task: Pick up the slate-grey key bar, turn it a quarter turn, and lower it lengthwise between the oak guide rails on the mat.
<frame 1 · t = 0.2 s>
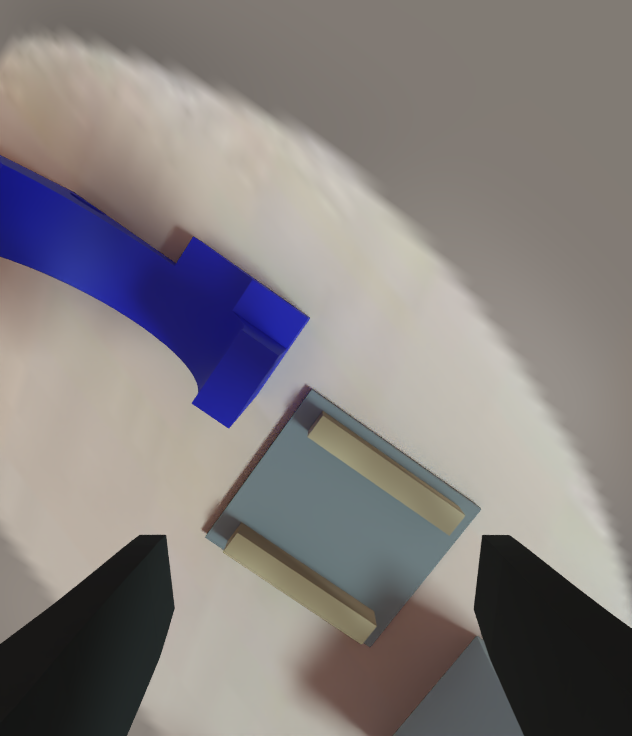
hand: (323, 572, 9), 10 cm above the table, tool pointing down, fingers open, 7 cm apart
key bar: (455, 709, 22), on the table
cable clip: (178, 283, 19), on the table
guide mat: (341, 520, 20), on the table
guide rails: (341, 520, 20), resting on guide mat
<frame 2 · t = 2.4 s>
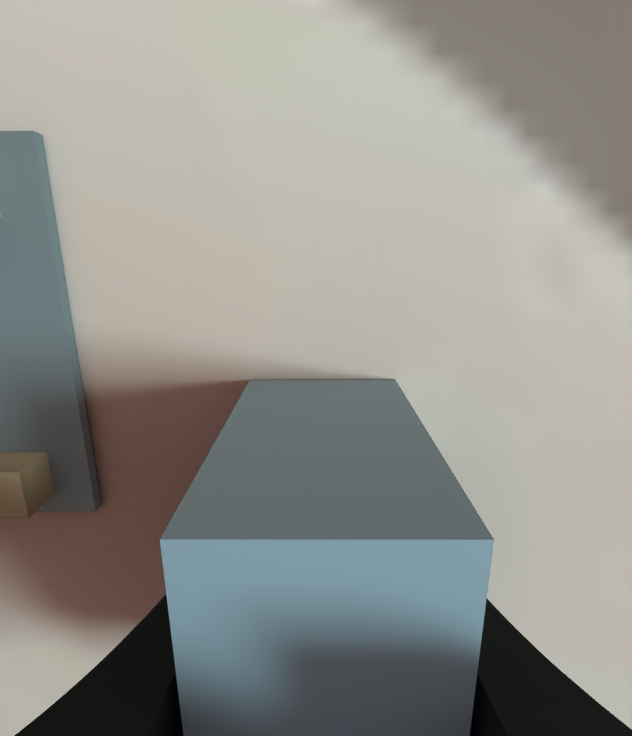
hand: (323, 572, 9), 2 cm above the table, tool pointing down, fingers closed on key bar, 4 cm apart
key bar: (322, 519, 11), on the table, touching gripper
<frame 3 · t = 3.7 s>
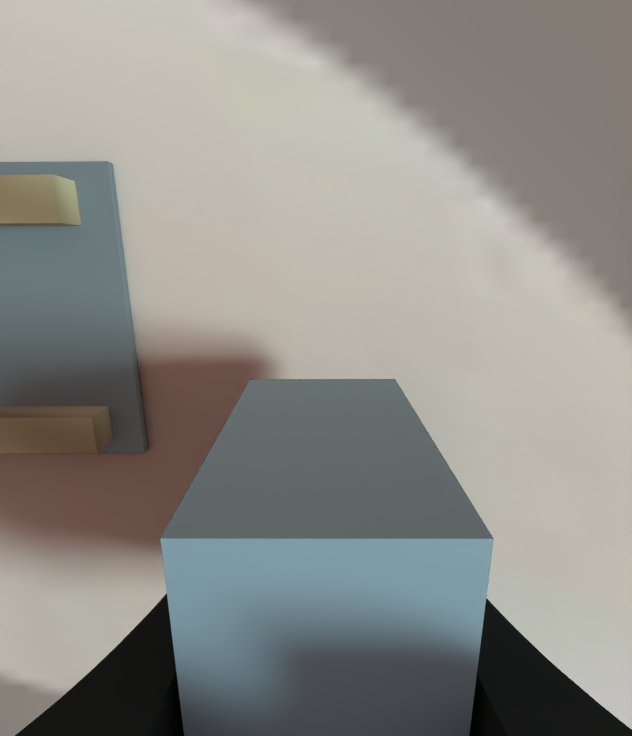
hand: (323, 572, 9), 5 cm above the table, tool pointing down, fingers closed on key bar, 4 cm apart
key bar: (322, 519, 11), point 3 cm above the table, touching gripper
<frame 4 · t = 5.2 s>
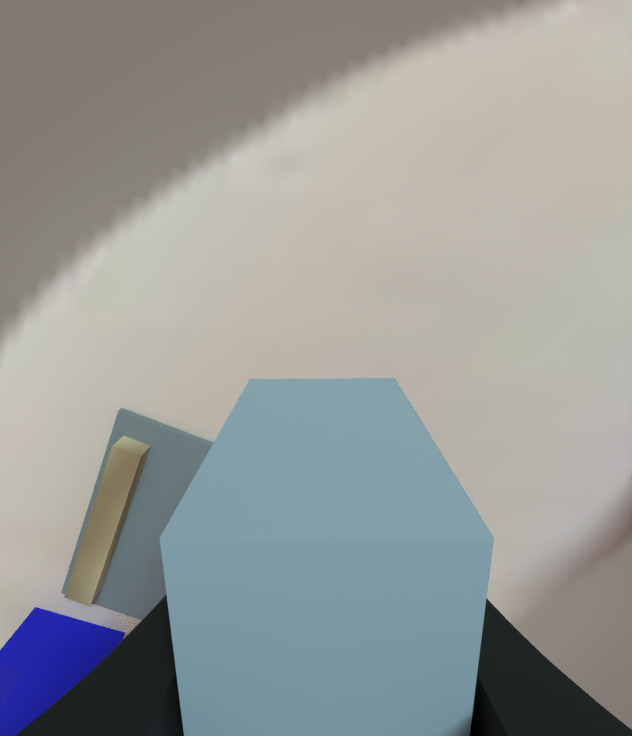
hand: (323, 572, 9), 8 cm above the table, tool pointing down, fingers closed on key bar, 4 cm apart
key bar: (322, 519, 11), point 6 cm above the table, touching gripper
cable clip: (62, 698, 22), on the table
guide mat: (186, 537, 19), on the table
guide rails: (186, 537, 19), resting on guide mat
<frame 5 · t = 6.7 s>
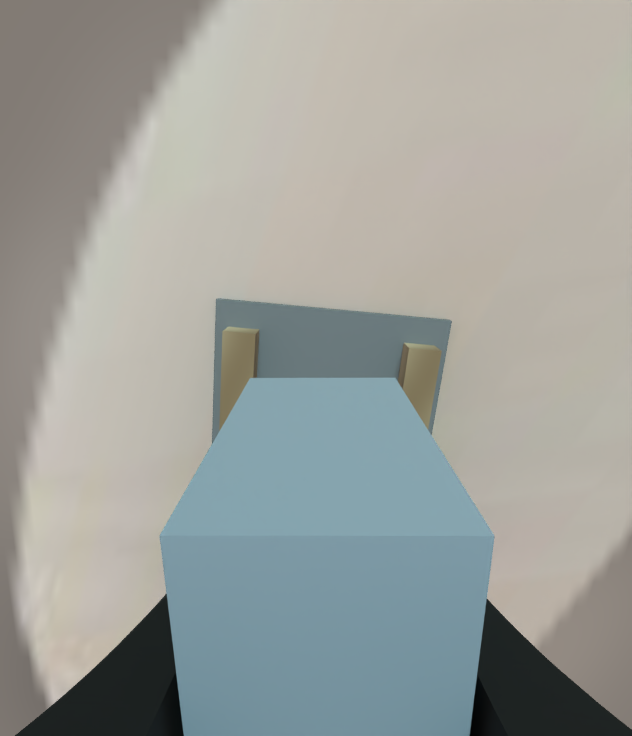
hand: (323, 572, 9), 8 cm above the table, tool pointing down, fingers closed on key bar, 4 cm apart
key bar: (322, 518, 11), point 6 cm above the table, touching gripper
guide mat: (321, 428, 17), on the table
guide rails: (321, 428, 17), resting on guide mat
when the fingers open (4 cm above the table, at t = 8.0 s): key bar drops 1 cm, resting on guide mat.
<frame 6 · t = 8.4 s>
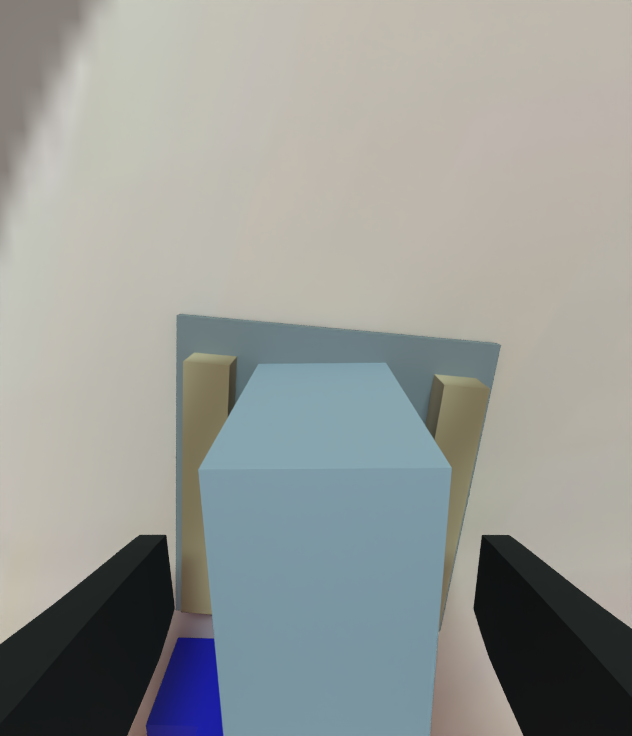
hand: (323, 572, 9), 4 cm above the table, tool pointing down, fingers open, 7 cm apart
key bar: (323, 489, 13), resting on guide mat
guide mat: (322, 485, 13), on the table
guide rails: (322, 485, 13), resting on guide mat
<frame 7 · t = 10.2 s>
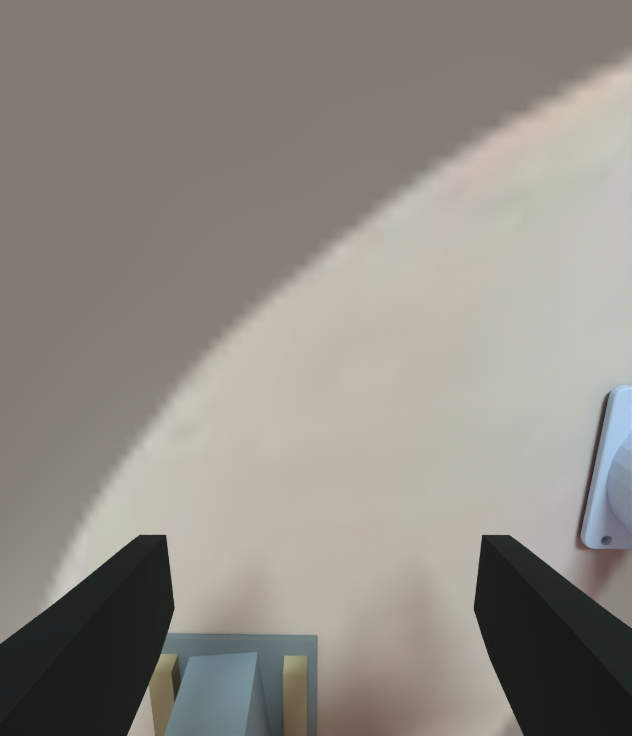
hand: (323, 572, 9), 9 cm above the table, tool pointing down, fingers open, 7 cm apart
key bar: (234, 711, 23), resting on guide mat
guide mat: (235, 706, 23), on the table
guide rails: (235, 706, 23), resting on guide mat
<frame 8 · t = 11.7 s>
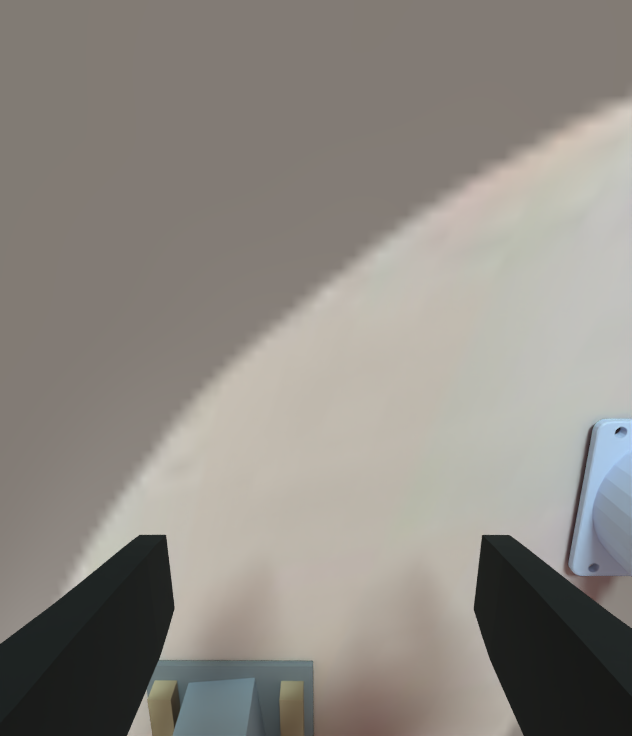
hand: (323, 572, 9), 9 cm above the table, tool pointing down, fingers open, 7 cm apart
key bar: (233, 734, 23), resting on guide mat
guide mat: (234, 729, 23), on the table
guide rails: (234, 729, 23), resting on guide mat
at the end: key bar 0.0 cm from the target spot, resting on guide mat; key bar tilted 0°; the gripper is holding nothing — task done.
